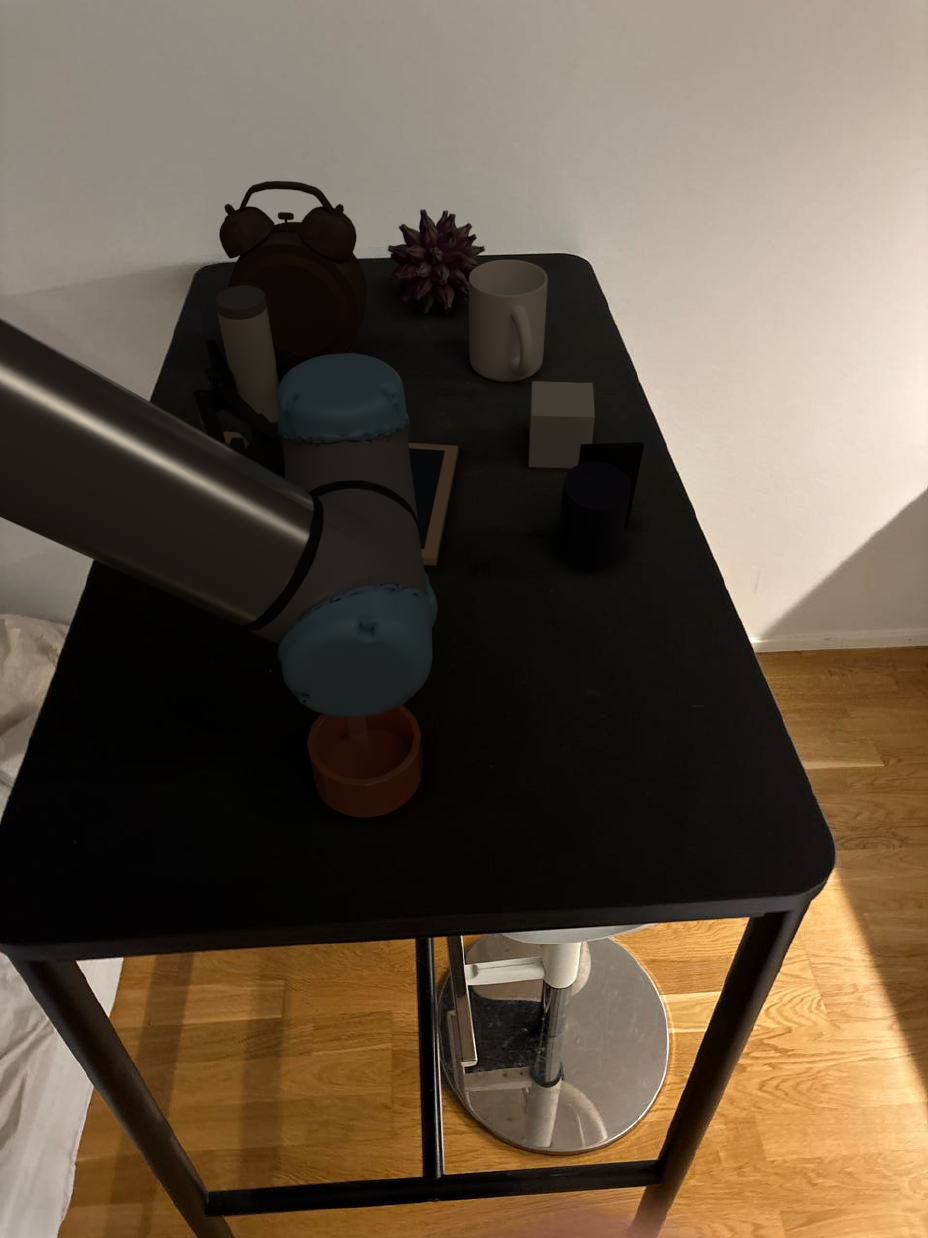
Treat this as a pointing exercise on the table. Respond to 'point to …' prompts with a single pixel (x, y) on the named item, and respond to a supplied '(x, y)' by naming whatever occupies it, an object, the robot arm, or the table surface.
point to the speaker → (597, 504)
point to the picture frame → (417, 489)
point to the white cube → (560, 423)
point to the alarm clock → (300, 271)
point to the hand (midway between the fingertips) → (239, 348)
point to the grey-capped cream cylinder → (249, 347)
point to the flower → (435, 261)
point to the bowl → (366, 761)
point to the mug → (507, 319)
